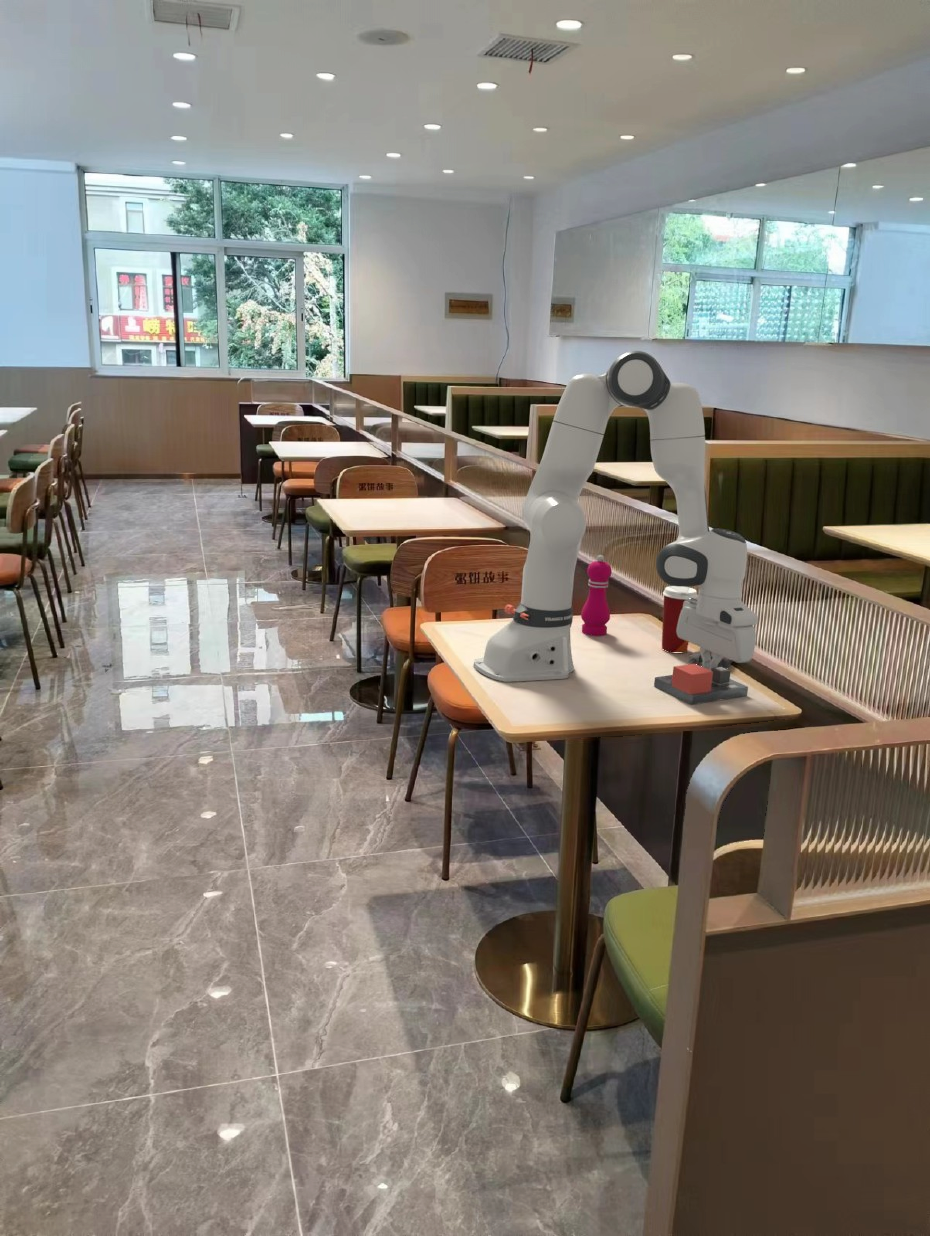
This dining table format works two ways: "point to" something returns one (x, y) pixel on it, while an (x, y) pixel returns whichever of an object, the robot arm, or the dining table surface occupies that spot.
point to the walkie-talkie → (724, 663)
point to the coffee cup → (674, 617)
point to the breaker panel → (716, 693)
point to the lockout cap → (692, 678)
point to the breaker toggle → (721, 675)
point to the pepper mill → (597, 599)
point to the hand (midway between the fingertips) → (709, 670)
